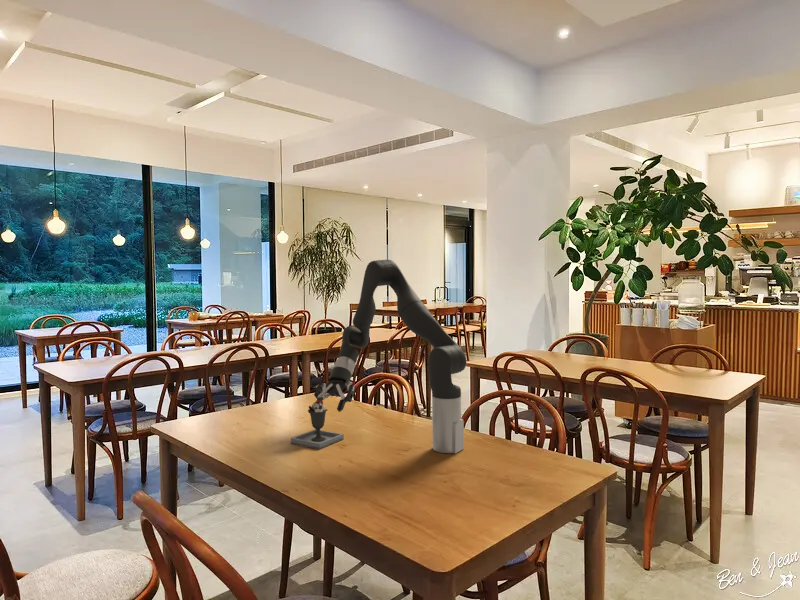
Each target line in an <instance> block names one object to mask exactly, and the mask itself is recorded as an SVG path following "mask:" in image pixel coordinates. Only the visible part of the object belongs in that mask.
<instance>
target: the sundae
mask: <svg viewBox="0 0 800 600" xmlns="http://www.w3.org/2000/svg"><path fill="white" fill-rule="evenodd" d="M321 396H322V397H323V396H324V395H321ZM322 397H321V401H320V402H319V399H320V398H319V399H318V400H317V399H316V401H315V402H313V403H312V404H311V405H309V406H308V410H307V412H308V413H309V415H310V420H311V426H312V428H314V429H316V430H317V434H316V437H314V438H312V439H311V440H312V441H315V442H320V441H324V440H325V439H326V438H325V437H321V435H320V430H321V429H322V428H323V427H324V426H325V421H326V420H325V419H326V414H327V413H326V412H327V411H328V409H327V407H326V406H325V405H324V401H323V402H322Z"/></svg>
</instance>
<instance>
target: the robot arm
mask: <svg viewBox="0 0 800 600" xmlns="http://www.w3.org/2000/svg"><path fill="white" fill-rule="evenodd" d="M382 286H389V287H390V288H391V289H392V291H394V293H395V295H396V298H397V299H396V303H397V304H396V306H397V307H396V310H397V314H398V317H400V318H399V319H401V320H402V322H403V323H404V325H405V326H406V327H407V329H409V330H410V331H411V332H412V333H414V334H415V335H416V336H418V337H420V338H421V339H423V340H424V341H426V342H427V343H429V344H430V345H431V346H432V347H433V349H431V351H430V352H429V355H428V365H427V366H428V377H429V379H428V380H429V381H428V382H429V387H430V390H431V398H432V399H431V405H432V406H431V410H432V411H431V412H432V414H431V416H432V417H431V418H432V420H431V421H432V422H431V423H432V424H431V425H432V428H431V429H432V442H431V443H432V450H433V451H434V452H435V453H441V454H458V453H459V452H460V451H462V450H464V449H465V440H464V439H465V429H464V427H465V426H464V425H465V423H464V419H463V418H462V389H461V387H460V386H459V385H456V384H454V383H453V382H452V381H453V379H452V375H456V374H458V373H461V372H464V370H465V368H466V366H467V358H466V354H465V352H464V350H463V349H462V347H460V345H459V344H458V343H457V342H456V341H455V340H454V339H453V338H452V337H451V336H450V335H449V334H448V333H447V332H446V330H445V329H444V328H443V327H442V326H441V324H440V323H439V322H438V321H437V319H436V318H435V317H434V316H433V314H432V313H431V312H430V310H429V309H428V308H427V306H426V304H425V303H424V302H423V301H422V299H420V298H419V296H418V295H417V293H416V292H415V291H414V289H413V288H412V287H411V285H410V284H409V282H408V280H407V278H406V276H405V275H404V273H403V272H402V270H401V269H400V266H399V265H398V264H397V263H396V262H395V261H394V260H392V259H378V260H372V261H370V262H368V263H367V265H366V269H365V270H364V274H363V280H362V285H361V292H360V298H359V302H358V305H357V308H356V310H355V313H354V316H353V318H352V325H353V326H352V325H348V326H346V327H345V328H344V329H343V332H342V337H341V338H342V341H341V347H340V348H341V349H340V352H339V354H338V356H337V360H335V363H334V365H333V366H332V370H331V372H330V375H329V377H328V381H327V383H323V381H319V383H318V385H317V388H316V389H315V391H314V394H313V395H314V397H315V399H316V400H318V399H319V398H320V399H319V402H320V401H321V397H322V402H323V403H324V400H325V399H327V398H329V397H337V398H338V397H340V399H339V403H338V404H337V407H336V410H337V411H338V412H339V413H341V412H342V411H343V410H344V407H345V405H346V404H347V403H351V402H352V401H353V397H354V394H355V390H356V388H355V386H354V384H352V383H351V384H350V381H351V379H352V376H353V374H354V372H355V371H354V370H355V366H356V364H357V361H358V359H359V353H360V352H359V351H358V349H365V348H366V347H367V346H368V344H369V342H370V329H371V325H372V323H373V319H374V317H375V315H376V307H377V306H376V302H375V299H374V294H375V291H376V289H377V288H378V287H382ZM357 348H358V349H357ZM346 391H347V394H346V396H345V392H346ZM321 395H323V396H321Z"/></svg>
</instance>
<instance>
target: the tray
mask: <svg viewBox="0 0 800 600" xmlns="http://www.w3.org/2000/svg"><path fill="white" fill-rule="evenodd" d="M316 434H317V430H316V429H315V428H314V429H313V430H309V431H307V432H304V433H301V434H299V435H296V436H293V437H291V438H290V444H291V445H295V446H301V447H306V448H311V449H316V450H322V449H324V447H325V448H326V447H329V446H331V445H333V444H336V443H338V442H341V441H343V440H344V439H345V437H344V434H343V433H340V432H335V431H334V432H332V431H328V430H321V429H320V435H321V437H325V438H326V439H325V440H324V441H320V442H315V441H312V440H311V439H312V438H314V437H316Z"/></svg>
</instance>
